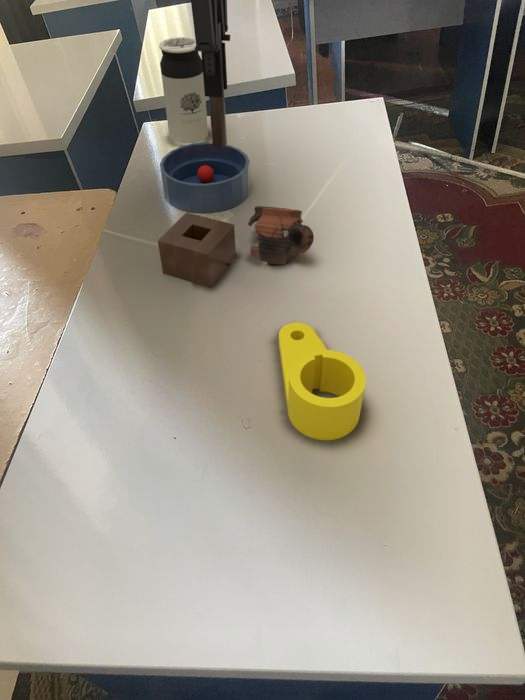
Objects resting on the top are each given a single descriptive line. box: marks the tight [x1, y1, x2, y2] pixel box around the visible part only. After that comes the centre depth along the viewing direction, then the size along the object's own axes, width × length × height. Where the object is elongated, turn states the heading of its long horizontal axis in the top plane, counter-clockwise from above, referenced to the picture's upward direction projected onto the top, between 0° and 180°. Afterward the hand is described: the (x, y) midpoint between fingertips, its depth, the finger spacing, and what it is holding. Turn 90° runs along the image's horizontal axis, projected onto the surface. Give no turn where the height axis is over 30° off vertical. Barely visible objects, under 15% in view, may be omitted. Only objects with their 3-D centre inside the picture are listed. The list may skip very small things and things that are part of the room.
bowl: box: [159, 141, 251, 214], centre depth 99 cm, size 15×15×6 cm
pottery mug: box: [247, 205, 315, 266], centre depth 88 cm, size 12×10×8 cm
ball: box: [197, 165, 214, 183], centre depth 102 cm, size 3×3×3 cm
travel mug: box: [158, 36, 209, 145], centre depth 111 cm, size 8×8×18 cm
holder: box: [157, 211, 237, 289], centre depth 85 cm, size 8×8×6 cm
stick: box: [208, 21, 228, 148], centre depth 87 cm, size 2×2×18 cm
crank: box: [278, 322, 367, 441], centre depth 68 cm, size 18×8×6 cm, turn 14°
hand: (216, 91), depth 87 cm, fingers closed on stick, 2 cm apart
